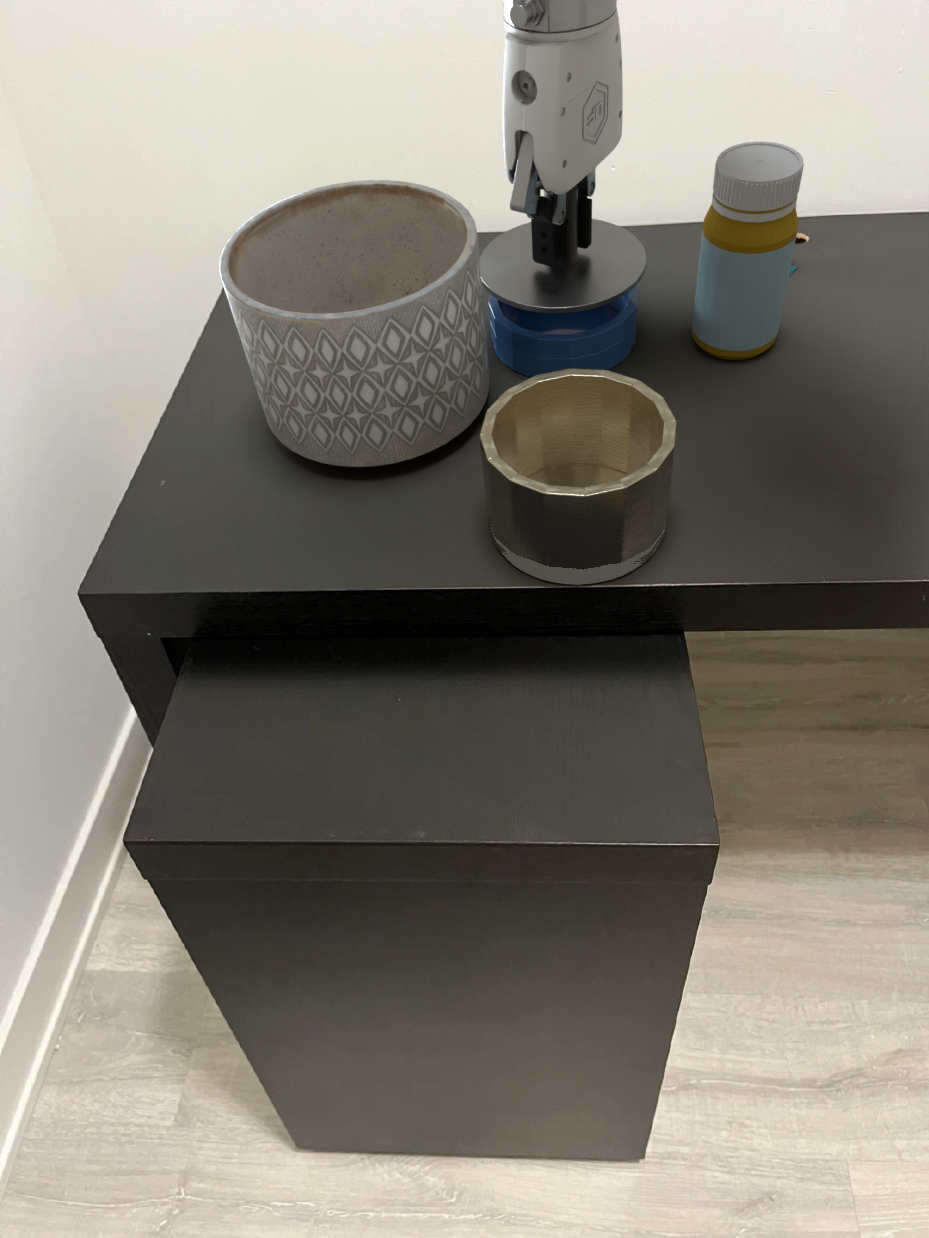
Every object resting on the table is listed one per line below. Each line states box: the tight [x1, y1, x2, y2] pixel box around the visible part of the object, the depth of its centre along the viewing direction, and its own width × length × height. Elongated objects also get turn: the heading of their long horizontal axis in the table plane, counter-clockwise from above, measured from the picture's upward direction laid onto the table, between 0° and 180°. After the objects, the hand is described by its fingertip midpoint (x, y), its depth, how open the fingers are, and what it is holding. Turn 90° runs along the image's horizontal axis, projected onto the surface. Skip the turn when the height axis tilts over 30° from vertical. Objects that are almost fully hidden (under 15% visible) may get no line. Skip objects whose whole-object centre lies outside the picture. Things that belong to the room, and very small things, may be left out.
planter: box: [218, 179, 491, 468], centre depth 73 cm, size 19×19×14 cm
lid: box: [479, 185, 647, 313], centre depth 75 cm, size 14×14×7 cm
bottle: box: [691, 141, 805, 361], centre depth 74 cm, size 7×7×15 cm
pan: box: [487, 285, 640, 378], centre depth 81 cm, size 12×12×4 cm
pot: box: [479, 369, 678, 570], centre depth 65 cm, size 13×13×8 cm
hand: (562, 252), depth 76 cm, fingers closed on lid, 2 cm apart
